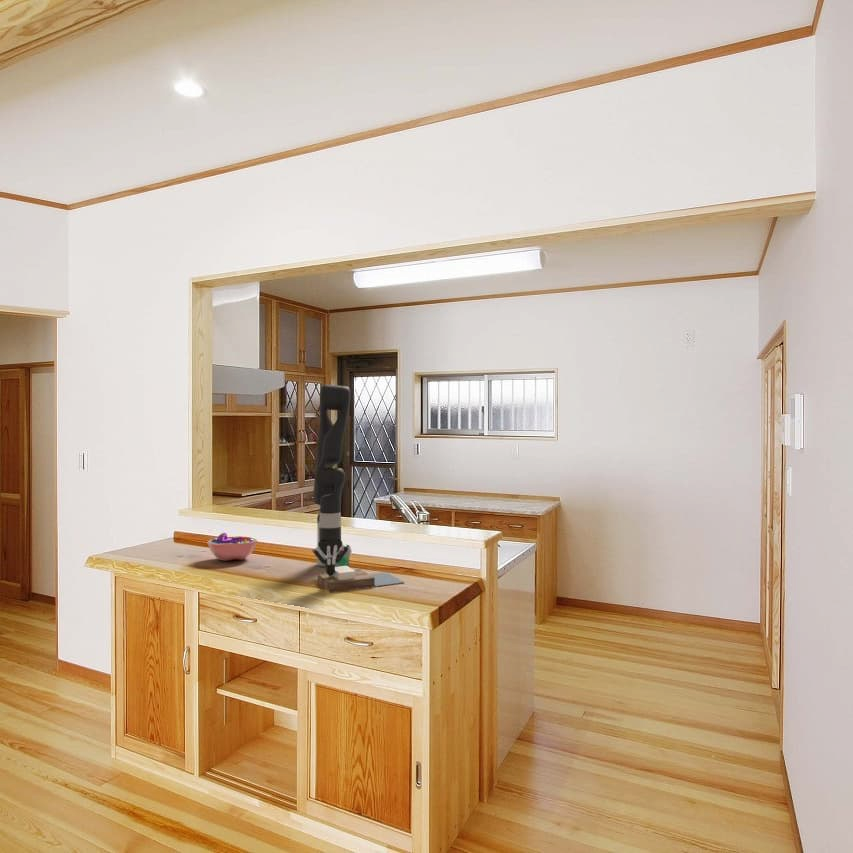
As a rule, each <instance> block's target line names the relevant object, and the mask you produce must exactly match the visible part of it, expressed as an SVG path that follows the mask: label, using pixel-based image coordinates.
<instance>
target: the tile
mask: <svg viewBox="0 0 853 853" xmlns="http://www.w3.org/2000/svg"><path fill="white" fill-rule="evenodd" d="M354 570H355V569H353V568H351V567H350V566H349V567H348V566H340V567H335V573H333V575H332V576H334V577H335V578H336V579H338V580H346V579H354V578H356V571H354Z"/></svg>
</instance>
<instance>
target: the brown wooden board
mask: <svg viewBox="0 0 853 853" xmlns="http://www.w3.org/2000/svg"><path fill="white" fill-rule="evenodd" d="M353 570H354V571H356V578H354V579H346V580H338V579H336V578H335V577H334V576H332V575H330V576H329V575H328V574H327V573H326V572H324V573H323V572H322V573H318V574H317V584H319V585H321V586H322V587H323V588H324V589H326V590H327V591H328V592H330V593H334V592H342V591H347V590H348V591H350V589H351V590H357V589H356V588H358V589H364V587H366V588H372V586H373V587H375V578H374V577H372V576H371V575H369V574H370V573H367V572H366V571H364V570H362V569H361V568H358V569H353Z"/></svg>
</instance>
